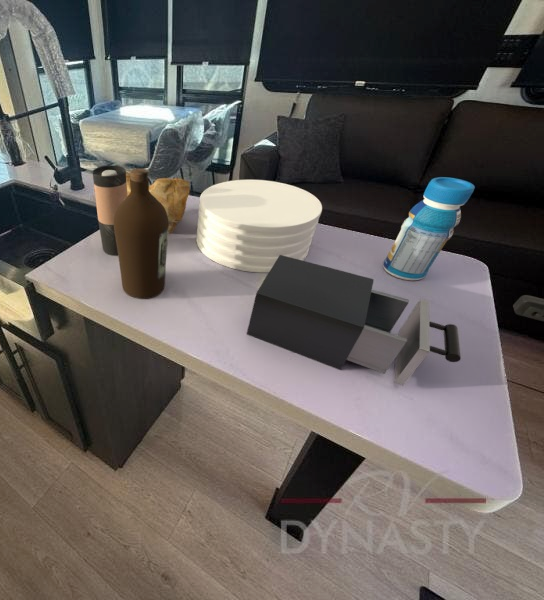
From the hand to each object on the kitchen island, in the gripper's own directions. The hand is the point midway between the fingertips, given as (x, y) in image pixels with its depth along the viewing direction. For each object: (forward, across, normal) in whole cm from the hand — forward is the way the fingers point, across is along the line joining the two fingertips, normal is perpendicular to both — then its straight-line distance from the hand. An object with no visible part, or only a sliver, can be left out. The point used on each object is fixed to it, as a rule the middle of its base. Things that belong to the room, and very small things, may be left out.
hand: (518, 304), depth 42 cm
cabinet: (+23, 0, +15) cm, 27 cm away
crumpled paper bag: (+68, -24, +16) cm, 74 cm away
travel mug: (+70, -6, +16) cm, 72 cm away
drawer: (+12, 0, +14) cm, 19 cm away
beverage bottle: (+8, -30, +16) cm, 35 cm away
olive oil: (+55, +4, +16) cm, 57 cm away
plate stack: (+41, -26, +16) cm, 51 cm away
